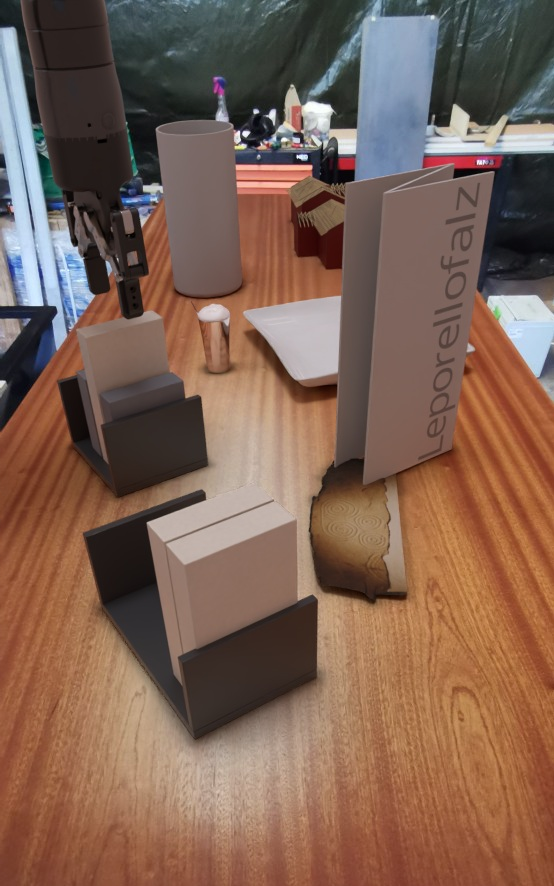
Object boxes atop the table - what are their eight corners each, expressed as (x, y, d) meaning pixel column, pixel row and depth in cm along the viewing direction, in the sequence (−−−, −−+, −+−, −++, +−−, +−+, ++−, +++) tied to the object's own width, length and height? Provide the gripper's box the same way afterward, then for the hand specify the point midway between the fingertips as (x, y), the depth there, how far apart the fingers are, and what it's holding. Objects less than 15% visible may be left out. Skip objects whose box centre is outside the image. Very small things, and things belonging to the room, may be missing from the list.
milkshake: (199, 362, 111) (192, 294, 105) (234, 362, 111) (230, 294, 104) (196, 375, 108) (188, 306, 101) (232, 375, 108) (227, 306, 101)
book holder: (194, 740, 59) (167, 578, 48) (101, 607, 71) (61, 453, 60) (317, 676, 64) (319, 515, 52) (210, 562, 76) (192, 411, 64)
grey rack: (117, 497, 85) (99, 410, 77) (72, 446, 94) (52, 364, 86) (208, 465, 90) (199, 380, 82) (157, 419, 98) (145, 339, 91)
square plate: (475, 373, 106) (479, 347, 103) (295, 405, 100) (295, 378, 98) (396, 307, 125) (398, 284, 123) (242, 331, 120) (240, 307, 117)
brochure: (364, 486, 84) (385, 193, 65) (333, 467, 88) (344, 183, 68) (451, 449, 91) (494, 171, 71) (419, 432, 94) (452, 163, 75)
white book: (112, 469, 88) (85, 337, 77) (103, 459, 89) (75, 328, 79) (179, 446, 91) (163, 317, 80) (169, 437, 93) (151, 309, 82)
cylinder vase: (166, 297, 132) (145, 135, 115) (184, 274, 141) (168, 120, 124) (234, 300, 130) (223, 135, 113) (248, 276, 139) (240, 120, 122)
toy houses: (279, 220, 165) (277, 169, 158) (368, 214, 167) (371, 163, 160) (316, 291, 132) (316, 230, 125) (427, 282, 134) (433, 221, 127)
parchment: (407, 601, 70) (408, 594, 69) (304, 596, 71) (304, 590, 70) (395, 466, 88) (396, 459, 88) (314, 463, 89) (314, 456, 88)
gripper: (19, 120, 70) (58, 293, 81) (74, 143, 61) (110, 335, 72) (93, 110, 73) (121, 278, 84) (156, 130, 64) (178, 316, 75)
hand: (116, 304), depth 78 cm, fingers open, 8 cm apart
